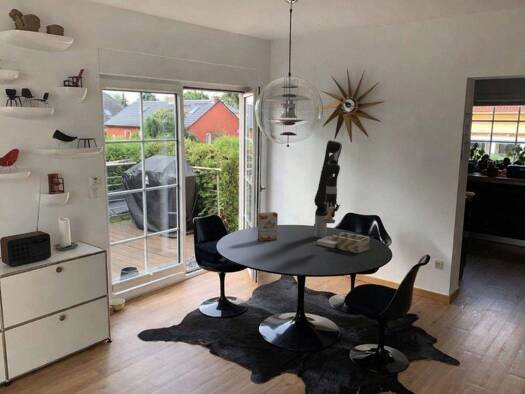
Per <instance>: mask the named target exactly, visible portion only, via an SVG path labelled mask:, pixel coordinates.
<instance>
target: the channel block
mask: <svg viewBox="0 0 525 394" xmlns="http://www.w3.org/2000/svg"><path fill="white" fill-rule="evenodd" d="M346 233H347V234H352V233H351V232H346ZM354 234H355V239H351V238H346V237H340V236H339V235H336V234H333V235H331V237H332V239H331V241H336V242H338V243H337V247H336V248H337V250H340V251H341V250H343V251H348V252H350V253H351V252H352V253H356V254H360V253H362V252H365V251H367V250H369V249H370V237H371V236H367V235H366V236H365V235H361V234H356V233H354Z"/></svg>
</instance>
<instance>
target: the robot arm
mask: <svg viewBox="0 0 525 394" xmlns="http://www.w3.org/2000/svg"><path fill="white" fill-rule="evenodd" d="M342 147H343V144H342V142H339V141H336V140H328V141H327V143H326V149H325V152H324V153H325V155H324V160H323V163H322V168H321V171H320V175H319V177H320V178H319V181H318V187H317V191H316V193H315V196H314V205H315V206H316V210H315V211H314V213H315V215H314V223H313V237H314V238H319V239H322V238H325V237H327V230H328V229H327V228H328V223H324V219H327V213H328V208H331V209H332V217H333V218H334V217H335V216H336V215H335V214H336V212H338V210H339V209H340V207H341V203H338V202H337V200H338V199H337V198H338V177H339V174H340V171H341V166H340V164H339V158H340V156H341V152H342Z"/></svg>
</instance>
